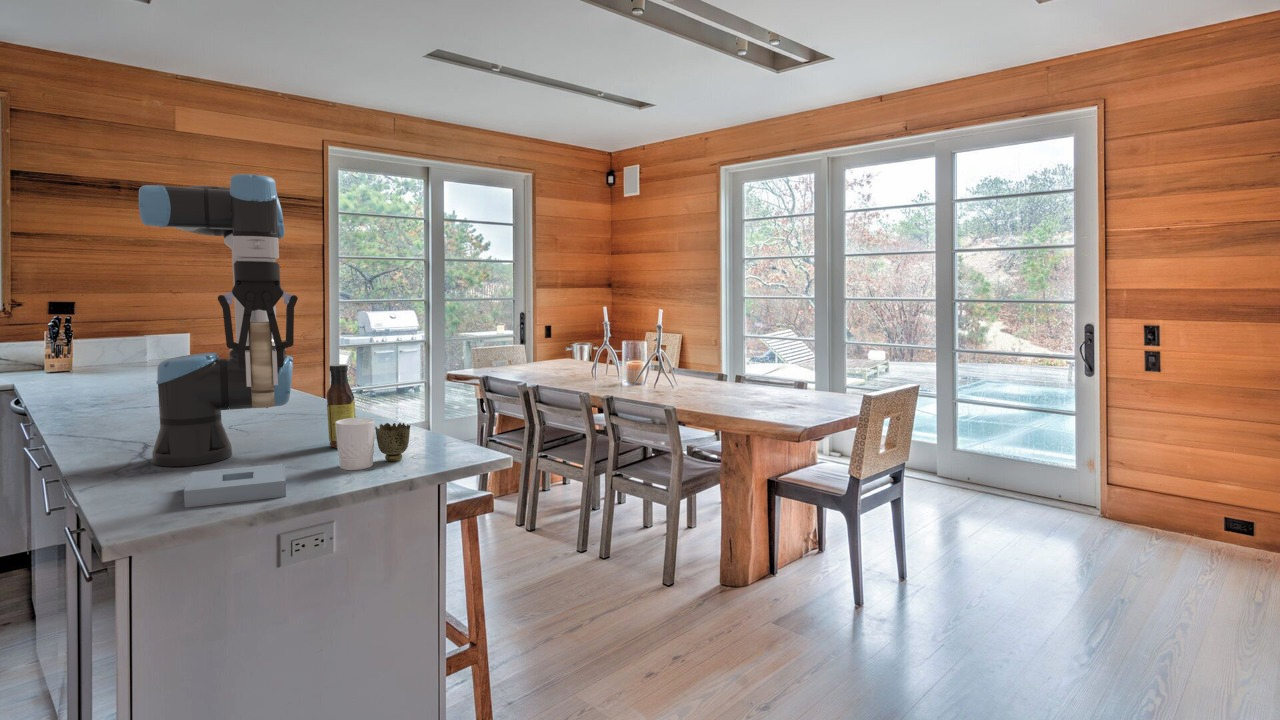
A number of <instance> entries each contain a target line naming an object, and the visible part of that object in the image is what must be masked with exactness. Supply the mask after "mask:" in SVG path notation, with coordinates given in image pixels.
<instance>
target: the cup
mask: <svg viewBox="0 0 1280 720" xmlns="http://www.w3.org/2000/svg"><path fill="white" fill-rule="evenodd" d="M391 424H392V425H391ZM391 424H390V423H389V422H386V423H384V424H382V423H380V424H379V427H377V426H375V428H374V431H375V437H376V442H377V443H376V444H377V446H378V449H379V451H380V452H381V453H382V454H384V459H385V460H386V462H389V463H396V462H399V461H401V460H402V459H403V455H402V454H403V453H404V452H405V451H406V450H407V449H408V447H409V443H410V432H411V431H410V430H411V424H409V423H407V424H406V423H405V422H403V423H401V422H399V423H398V424H396V423H395V422H394V423H391Z"/></svg>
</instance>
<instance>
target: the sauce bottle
mask: <svg viewBox="0 0 1280 720" xmlns="http://www.w3.org/2000/svg"><path fill="white" fill-rule="evenodd" d="M348 366H349V365H347V364H343V363H341V364H339V363H338V364H332V365H331V364H330V365H329V372H330V386H329V388H328V390H327V391H326V410H327V426H328V428H327V429H328V441H329V445H330V447H331V448H334V449H338V448H337V437H336V425H335V422H336V421H338V420H342V419H348V418H356V406H355V404H356V403H355V402H356V401H355V395H354V393H353V390H352V388H351V386H350V384H349V380H348V371H349V369H348Z"/></svg>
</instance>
